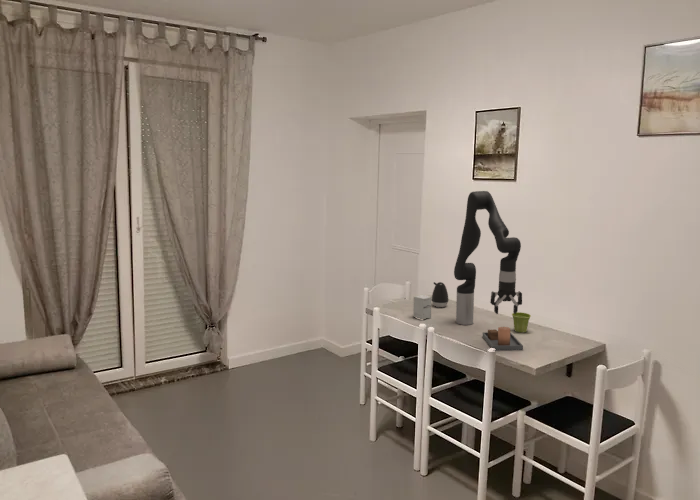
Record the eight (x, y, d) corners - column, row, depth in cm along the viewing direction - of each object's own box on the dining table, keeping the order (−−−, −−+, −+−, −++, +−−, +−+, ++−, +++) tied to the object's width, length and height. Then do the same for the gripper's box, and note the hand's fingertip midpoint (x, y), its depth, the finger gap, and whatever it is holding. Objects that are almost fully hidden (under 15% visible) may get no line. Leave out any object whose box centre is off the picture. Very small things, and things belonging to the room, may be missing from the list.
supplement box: (422, 320, 293) (422, 298, 291) (412, 318, 299) (413, 296, 297) (431, 318, 298) (431, 296, 296) (421, 315, 303) (422, 294, 301)
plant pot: (531, 329, 276) (532, 313, 274) (527, 334, 268) (528, 318, 266) (513, 327, 280) (514, 311, 279) (509, 332, 272) (509, 315, 271)
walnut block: (487, 337, 262) (487, 329, 261) (495, 337, 263) (495, 329, 262) (490, 340, 258) (491, 332, 257) (498, 339, 259) (498, 331, 258)
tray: (482, 336, 265) (482, 332, 265) (510, 336, 265) (510, 332, 265) (492, 350, 246) (493, 345, 245) (522, 350, 246) (523, 345, 245)
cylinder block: (496, 342, 254) (496, 326, 253) (507, 342, 254) (508, 326, 253) (499, 346, 249) (500, 330, 247) (511, 346, 249) (512, 330, 247)
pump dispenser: (438, 303, 330) (439, 279, 327) (451, 306, 322) (452, 282, 320) (427, 306, 323) (428, 282, 321) (440, 309, 316) (441, 284, 313)
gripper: (520, 278, 250) (518, 311, 253) (489, 278, 250) (488, 311, 253) (525, 281, 243) (523, 315, 245) (494, 281, 243) (492, 315, 245)
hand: (505, 313), depth 249 cm, fingers open, 8 cm apart
